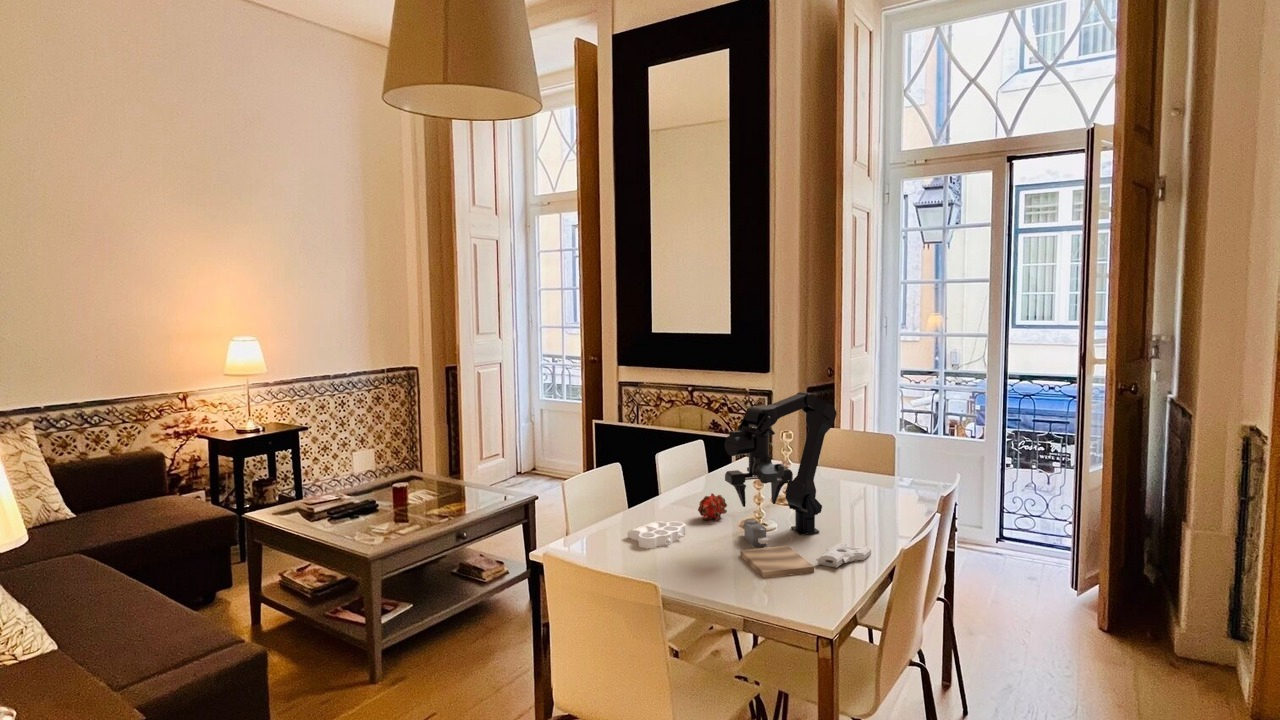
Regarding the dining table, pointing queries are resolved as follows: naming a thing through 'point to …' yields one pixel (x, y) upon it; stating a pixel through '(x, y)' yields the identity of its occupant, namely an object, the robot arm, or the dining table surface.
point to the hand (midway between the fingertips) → (758, 505)
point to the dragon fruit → (712, 507)
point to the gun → (843, 555)
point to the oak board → (776, 561)
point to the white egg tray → (658, 533)
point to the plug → (755, 533)
